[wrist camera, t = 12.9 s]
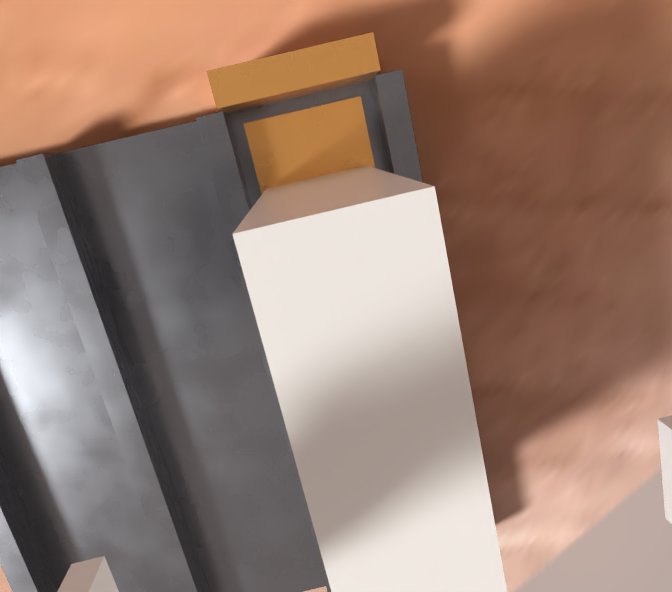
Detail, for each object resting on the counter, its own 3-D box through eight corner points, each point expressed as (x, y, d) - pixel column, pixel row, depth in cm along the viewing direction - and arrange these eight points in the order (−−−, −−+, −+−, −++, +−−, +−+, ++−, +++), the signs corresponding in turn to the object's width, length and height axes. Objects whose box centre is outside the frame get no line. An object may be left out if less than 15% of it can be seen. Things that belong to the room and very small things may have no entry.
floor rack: (-129, 166, 23) (-217, 170, 19) (385, 45, 23) (403, 25, 19) (71, 631, 29) (36, 706, 25) (477, 534, 29) (505, 595, 25)
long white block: (266, 188, 23) (232, 233, 11) (365, 165, 23) (434, 186, 11) (353, 528, 27) (394, 819, 15) (436, 508, 27) (541, 783, 15)
